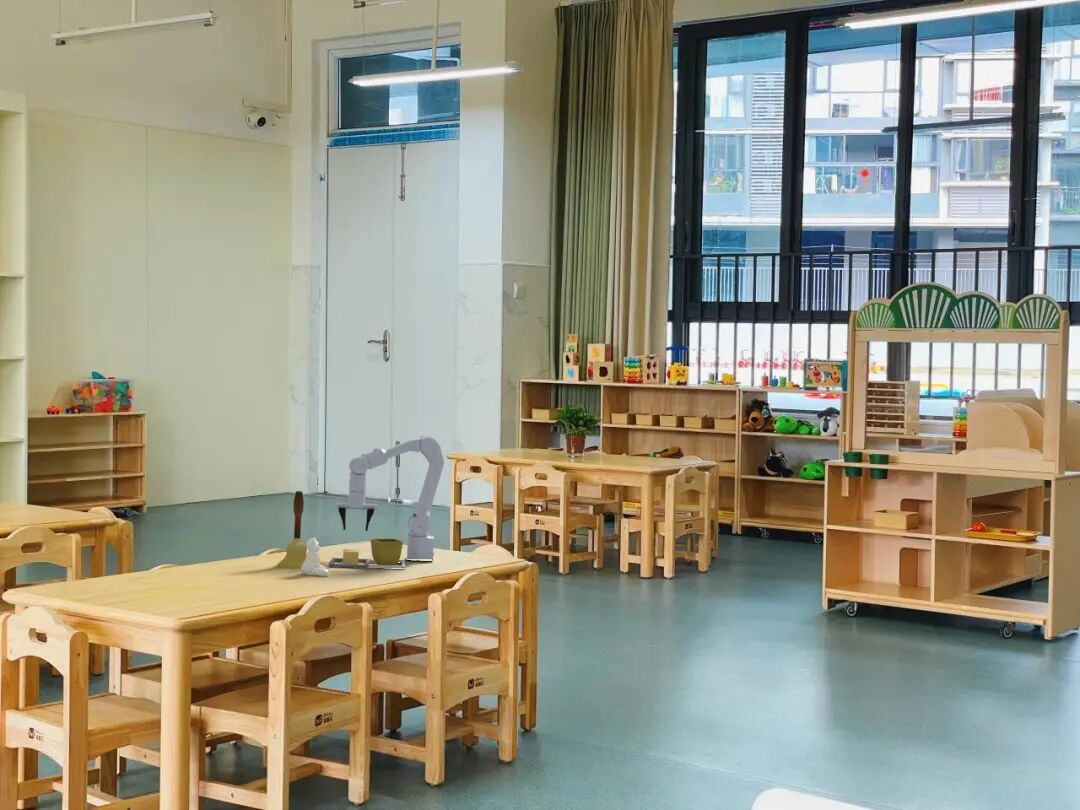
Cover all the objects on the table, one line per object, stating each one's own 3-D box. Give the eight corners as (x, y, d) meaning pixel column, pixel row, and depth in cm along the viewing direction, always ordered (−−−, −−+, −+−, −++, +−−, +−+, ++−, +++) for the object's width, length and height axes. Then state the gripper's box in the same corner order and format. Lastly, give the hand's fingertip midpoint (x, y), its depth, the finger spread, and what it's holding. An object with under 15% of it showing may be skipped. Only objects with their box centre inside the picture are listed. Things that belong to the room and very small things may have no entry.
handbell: (287, 561, 450) (290, 488, 449) (320, 564, 446) (323, 491, 445) (270, 566, 438) (273, 491, 437) (304, 569, 434) (307, 494, 434)
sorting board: (404, 563, 457) (404, 560, 457) (404, 569, 444) (405, 566, 444) (331, 561, 454) (332, 557, 454) (330, 567, 441) (330, 563, 441)
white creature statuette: (329, 577, 423) (331, 540, 422) (302, 577, 420) (304, 539, 420) (325, 572, 432) (326, 535, 431) (298, 572, 429) (300, 535, 429)
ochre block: (357, 564, 451) (358, 549, 451) (357, 566, 446) (358, 551, 446) (342, 563, 450) (343, 549, 450) (343, 566, 445) (343, 551, 445)
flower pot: (369, 564, 451) (370, 538, 451) (392, 563, 455) (393, 537, 455) (378, 568, 444) (379, 542, 443) (402, 567, 448) (403, 541, 447)
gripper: (378, 490, 464) (376, 529, 465) (336, 489, 462) (335, 527, 463) (378, 493, 457) (376, 531, 458) (336, 491, 455) (334, 530, 456)
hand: (355, 529), depth 460 cm, fingers open, 7 cm apart
